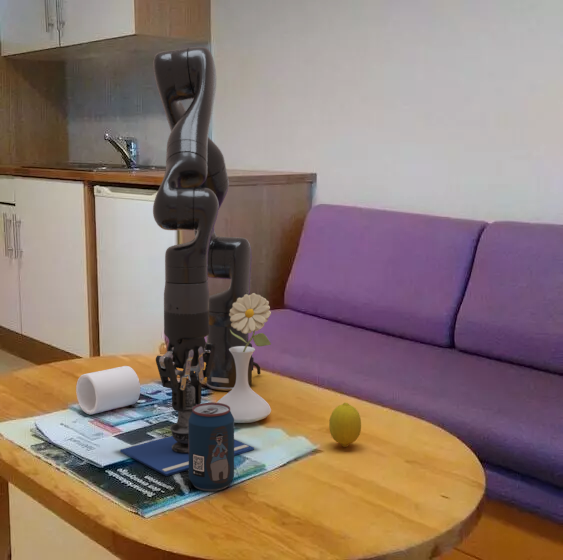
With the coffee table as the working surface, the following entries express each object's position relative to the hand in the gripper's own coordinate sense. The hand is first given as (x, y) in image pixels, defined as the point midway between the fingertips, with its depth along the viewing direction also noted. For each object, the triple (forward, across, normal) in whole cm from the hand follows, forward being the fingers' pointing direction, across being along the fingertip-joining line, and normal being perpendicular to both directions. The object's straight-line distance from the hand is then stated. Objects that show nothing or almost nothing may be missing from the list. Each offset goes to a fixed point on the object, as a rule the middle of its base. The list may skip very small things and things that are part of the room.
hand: (187, 406), depth 131 cm
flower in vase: (+8, +19, +1) cm, 21 cm away
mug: (+8, +10, +29) cm, 32 cm away
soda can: (+8, -9, -12) cm, 17 cm away
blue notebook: (+8, 0, 0) cm, 8 cm away
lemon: (+8, +16, -22) cm, 28 cm away
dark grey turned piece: (+7, 0, 0) cm, 7 cm away
